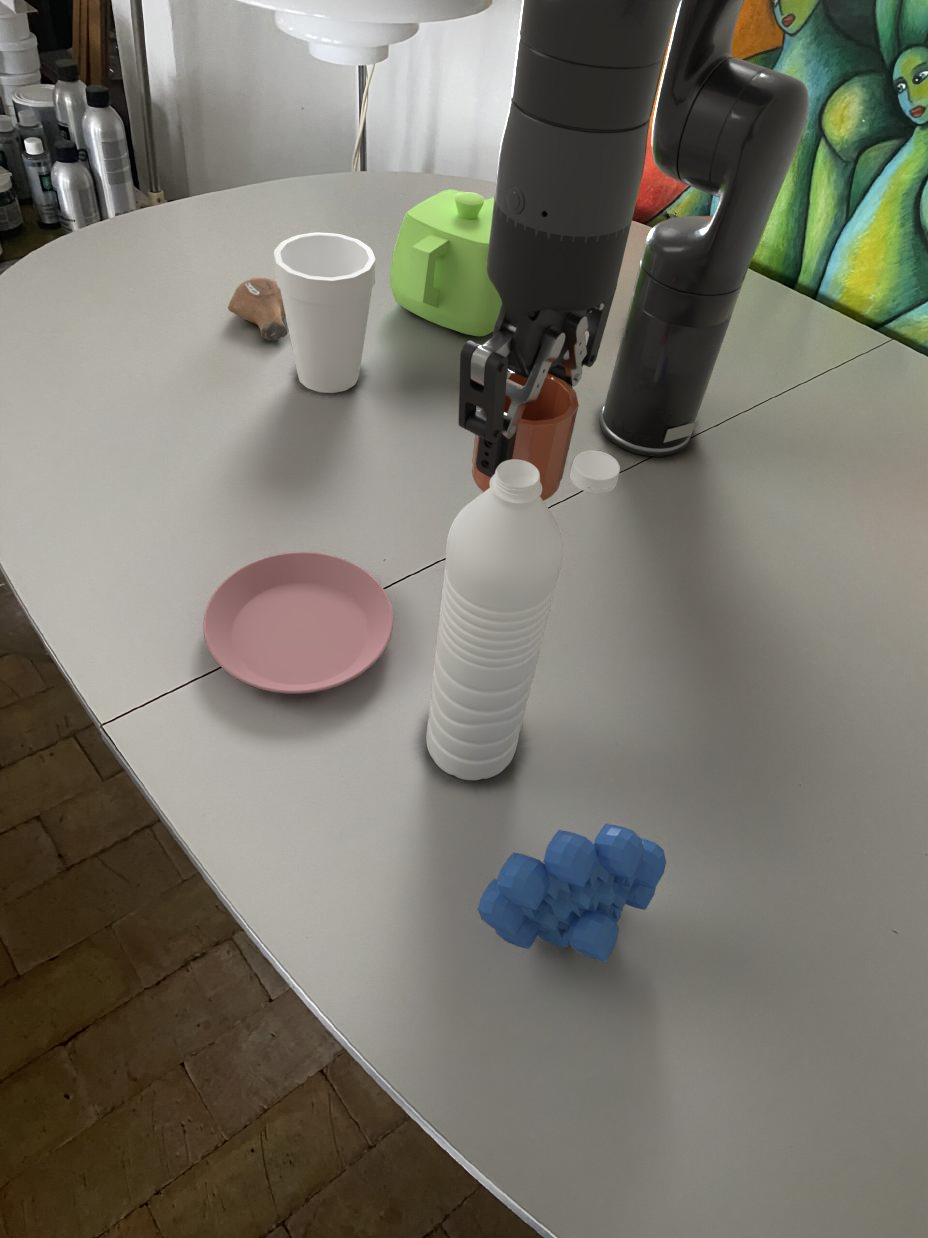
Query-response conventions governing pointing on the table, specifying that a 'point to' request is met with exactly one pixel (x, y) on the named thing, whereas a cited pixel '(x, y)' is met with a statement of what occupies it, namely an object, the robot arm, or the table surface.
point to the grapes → (574, 890)
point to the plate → (298, 622)
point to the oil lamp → (260, 306)
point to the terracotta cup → (541, 433)
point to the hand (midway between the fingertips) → (520, 449)
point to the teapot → (447, 263)
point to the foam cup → (326, 305)
